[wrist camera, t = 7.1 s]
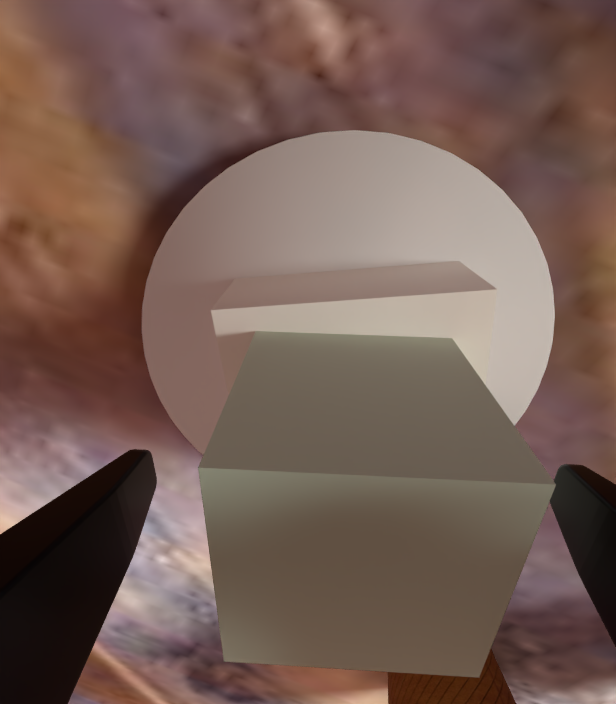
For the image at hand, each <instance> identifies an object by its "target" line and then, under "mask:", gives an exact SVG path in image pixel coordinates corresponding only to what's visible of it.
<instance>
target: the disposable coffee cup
mask: <svg viewBox="0 0 616 704" xmlns="http://www.w3.org/2000/svg"><path fill="white" fill-rule="evenodd" d="M388 703H389V704H516V703H515V701H514V698H513V696H512V694H511V692H510V689H509V687H508V685H507V683H506V681H505V679H504V677H503V674H502V672H501V670H500V668H499V666H498V663H497V661H496V659H495V657H494V654H493V652H492V650H491V649H490V652H489V654H488V657H487V659H486V662H485V664H484V667H483V669H482V672H481V674H480V677H479V678H478V677H462V676H446V675H430V674H414V673H398V672H388Z"/></svg>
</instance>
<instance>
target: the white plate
mask: <svg viewBox="0 0 616 704" xmlns="http://www.w3.org/2000/svg"><path fill="white" fill-rule="evenodd" d="M453 261H460V262H461V263H463V264H464V265H465V266H467V267H468V268H469V269H471V270H472V271H473V272H475V273H476V274H477V275H479V276H480V277H481V278H483V279H484V280H486V281H487V282H488V283H490V284H491V285H492V286H494V287H495V288H496V289H497V297H496V305H495V313H494V321H493V329H492V337H491V345H490V353H489V361H488V369H487V377H486V387H487V388H488V389H489V391H490V392H491V394H492V395H493V396H494V398H495V399H496V401H497V402H498V404H499V405H500V406H501V408H502V409H503V411H504V412H505V413H506V415H507V416H508V418H509V419H510V420H511V422H512V423H513V425H514V426H515V425H516V423H517V422H518V420H519V419H520V418H521V416H522V415H523V414H524V412H525V411H526V409H527V408H528V406H529V404H530V402H531V400H532V398H533V397H534V395H535V393H536V391H537V389H538V387H539V385H540V382H541V379H542V377H543V374H544V372H545V369H546V367H547V363H548V359H549V354H550V350H551V346H552V342H553V330H554V319H555V312H554V296H553V287H552V283H551V278H550V274H549V269H548V265H547V262H546V259H545V257H544V254H543V252H542V249H541V247H540V244H539V242H538V239H537V237H536V235H535V234H534V232H533V230H532V229H531V227H530V225H529V224H528V222H527V220H526V219H525V217H524V215H523V214H522V212H521V211H520V210H519V209H518V208H517V206H516V205H515V204H514V203H513V202H512V201H511V199H510V198H509V197H508V196H507V195H506V194H505V192H504V191H503V190H502V189H501V188H500V187H498V186H497V185H496V184H495V183H494V182H493V181H491V180H490V179H489V178H488V177H487V176H485V175H484V174H483V173H482V172H481V171H480V170H478V169H477V168H475V167H473V166H472V165H470V164H468V163H467V162H465V161H463V160H462V159H460V158H458V157H457V156H455V155H454V154H452V153H450V152H447V151H445V150H442V149H440V148H437V147H435V146H433V145H430V144H428V143H425V142H423V141H420V140H416V139H411V138H407V137H403V136H399V135H395V134H391V133H382V132H370V131H358V130H351V131H336V132H321V133H316V134H312V135H307V136H303V137H298V138H293V139H289V140H286V141H283V142H281V143H278V144H275V145H273V146H270V147H267V148H265V149H262V150H259V151H257V152H255V153H253V154H252V155H250V156H248V157H246V158H244V159H243V160H241V161H239V162H237V163H236V164H234V165H232V166H230V167H229V168H227V169H226V170H225V171H223V172H222V173H221V174H220V175H218V176H217V177H216V178H214V179H213V180H212V181H211V182H209V183H208V184H207V185H205V186H204V187H203V188H202V189H201V190H200V191H199V192H198V193H197V195H196V196H195V197H194V198H193V199H192V200H191V201H190V202H189V203H188V204H187V205H186V206H185V207H184V208H183V210H182V211H181V212H180V214H179V215H178V217H177V218H176V220H175V221H174V222H173V224H172V225H171V227H170V228H169V229H168V231H167V233H166V235H165V237H164V239H163V241H162V243H161V245H160V247H159V249H158V251H157V253H156V255H155V257H154V260H153V263H152V266H151V269H150V272H149V275H148V278H147V281H146V287H145V293H144V299H143V305H142V338H143V347H144V355H145V359H146V363H147V366H148V370H149V374H150V378H151V380H152V382H153V385H154V387H155V390H156V392H157V395H158V397H159V399H160V401H161V403H162V404H163V406H164V408H165V410H166V411H167V413H168V415H169V417H170V418H171V420H172V421H173V422H174V424H175V425H176V426H177V428H178V429H179V430H180V432H181V433H182V434H183V436H184V437H185V438H186V439H187V440H188V441H189V442H190V443H191V444H192V445H193V446H194V447H195V448H196V449H197V450H198V451H199V452H200V453H201V454H202V455H204V453H205V450H206V448H207V446H208V443H209V441H210V438H211V436H212V434H213V431H214V429H215V427H216V424H217V422H218V419H219V417H220V415H221V412H222V410H223V408H224V405H225V403H226V400H227V398H228V396H229V395H228V390H227V385H226V381H225V376H224V371H223V366H222V362H221V357H220V352H219V347H218V342H217V338H216V333H215V328H214V323H213V319H212V314H211V309H212V308H213V307H214V305H215V304H216V303H217V301H218V300H219V299H220V298H221V296H222V295H223V294H224V292H225V291H226V290H227V289H228V287H229V286H230V285H231V283H232V282H233V281H234V280H235V279H237V278H250V277H263V276H275V275H288V274H301V273H313V272H326V271H339V270H351V269H364V268H377V267H390V266H402V265H415V264H428V263H440V262H453Z"/></svg>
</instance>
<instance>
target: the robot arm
mask: <svg viewBox="0 0 616 704" xmlns="http://www.w3.org/2000/svg"><path fill="white" fill-rule="evenodd" d="M554 482H555V484H556V486H555V489H554V491H553V494H552V496H551V499H550V504H551V506H552V509H553V511H554V514H555V516H556V519H557V522H558V524H559V527H560V529H561V532H562V534H563V537H564V539H565V542H566V544H567V547H568V549H569V552H570V554H571V557H572V559H573V562H574V564H575V567H576V569H577V571H578V574H579V576H580V578H581V580H582V582H583V584H584V586H585V588H586V590H587V592H588V594H589V596H590V598H591V600H592V602H593V604H594V606H595V607H596V609H597V611H598V613H599V615H600V617H601V619H602V621H603V623H604V625H605V627H606V629H607V631H608V633H609V635H610V637H611V639H612V641H613V643H614V645H615V647H616V484H614V483H612V482H611V481H609V480H607V479H606V478H604V477H602V476H600V475H599V474H597V473H595V472H594V471H592V470H590V469H589V468H587V467H585V466H583V465H572V464H564V465H561V466H560V467H559V469H558V471H557V473H556V476H555V479H554ZM156 483H157V478H156V473H155V468H154V463H153V458H152V455H151V452H150V451H148V450H137V449H133V450H129V451H128V452H126V453H124V454H123V455H121V456H120V457H118V458H117V459H115V460H114V461H112V462H111V463H109V464H108V465H106V466H104V467H103V468H101V469H100V470H98V471H97V472H95V473H94V474H92V475H91V476H89V477H88V478H86V479H85V480H83V481H81V482H80V483H78V484H77V485H75V486H74V487H72V488H71V489H69V490H68V491H66V492H65V493H63V494H62V495H60V496H58V497H57V498H55V499H54V500H52V501H51V502H49V503H48V504H46V505H45V506H43V507H42V508H40V509H39V510H37V511H35V512H34V513H32V514H31V515H29V516H28V517H26V518H25V519H23V520H22V521H20V522H19V523H17V524H15V525H14V526H12V527H11V528H9V529H8V530H6V531H5V532H3V533H2V534H0V704H68V702H69V700H70V697H71V695H72V693H73V691H74V688H75V686H76V684H77V682H78V679H79V677H80V675H81V673H82V670H83V668H84V666H85V664H86V661H87V659H88V657H89V655H90V652H91V650H92V648H93V646H94V643H95V641H96V639H97V637H98V634H99V632H100V630H101V628H102V625H103V623H104V621H105V619H106V616H107V614H108V612H109V610H110V607H111V605H112V603H113V601H114V599H115V596H116V594H117V592H118V590H119V587H120V585H121V583H122V581H123V578H124V576H125V574H126V572H127V569H128V567H129V565H130V562H131V560H132V558H133V555H134V552H135V550H136V547H137V544H138V541H139V538H140V535H141V532H142V529H143V526H144V523H145V519H146V516H147V513H148V510H149V507H150V504H151V501H152V498H153V495H154V492H155V489H156Z"/></svg>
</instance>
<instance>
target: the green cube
mask: <svg viewBox="0 0 616 704" xmlns="http://www.w3.org/2000/svg"><path fill="white" fill-rule="evenodd" d="M198 470H199V478H200V485H201V493H202V500H203V508H204V515H205V523H206V530H207V538H208V546H209V553H210V561H211V568H212V576H213V583H214V591H215V598H216V606H217V613H218V621H219V628H220V636H221V644H222V651H223V659H224V662H238V663H254V664H270V665H286V666H302V667H318V668H334V669H350V670H366V671H382V672H398V673H414V674H430V675H446V676H462V677H478V678H479V677H480V674H481V672H482V669H483V667H484V664H485V662H486V659H487V657H488V654H489V652H490V649H491V647H492V644H493V642H494V639H495V637H496V634H497V632H498V629H499V627H500V624H501V622H502V619H503V617H504V614H505V611H506V609H507V606H508V604H509V601H510V599H511V596H512V594H513V591H514V589H515V586H516V584H517V581H518V579H519V576H520V574H521V571H522V569H523V566H524V564H525V561H526V559H527V556H528V554H529V551H530V549H531V546H532V544H533V541H534V539H535V536H536V534H537V531H538V529H539V526H540V524H541V521H542V519H543V516H544V514H545V511H546V509H547V506H548V504H549V501H550V499H551V496H552V494H553V491H554V489H555V486H556V484H555V482H554V481H553V480H552V478H551V477H550V475H549V474H548V473H547V471H546V470H545V468H544V467H543V466H542V464H541V463H540V461H539V460H538V458H537V457H536V456H535V454H534V453H533V451H532V450H531V449H530V447H529V446H528V444H527V443H526V442H525V440H524V439H523V437H522V436H521V435H520V433H519V432H518V430H517V429H516V427H515V426H514V425H513V423H512V422H511V420H510V419H509V418H508V416H507V415H506V413H505V412H504V411H503V409H502V408H501V406H500V405H499V404H498V402H497V401H496V399H495V398H494V396H493V395H492V394H491V392H490V391H489V389H488V388H487V387H486V385H485V384H484V382H483V381H482V380H481V378H480V377H479V375H478V374H477V373H476V371H475V370H474V368H473V367H472V365H471V364H470V363H469V361H468V360H467V358H466V357H465V356H464V354H463V353H462V351H461V350H460V349H459V347H458V346H457V344H456V343H455V342H454V340H453V339H452V338H432V337H405V336H378V335H351V334H323V333H296V332H268V331H256V332H255V334H254V336H253V339H252V341H251V344H250V346H249V348H248V351H247V353H246V355H245V358H244V360H243V363H242V365H241V367H240V370H239V372H238V374H237V377H236V379H235V382H234V384H233V386H232V389H231V391H230V393H229V396H228V398H227V400H226V403H225V405H224V408H223V410H222V412H221V415H220V417H219V419H218V422H217V424H216V427H215V429H214V431H213V434H212V436H211V438H210V441H209V443H208V446H207V448H206V450H205V453H204V455H203V457H202V460H201V462H200V465H199V467H198Z"/></svg>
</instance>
